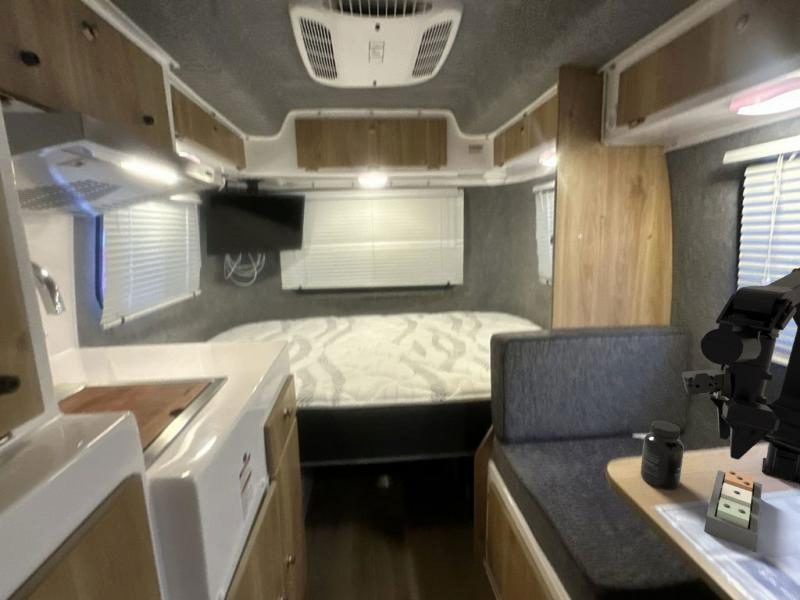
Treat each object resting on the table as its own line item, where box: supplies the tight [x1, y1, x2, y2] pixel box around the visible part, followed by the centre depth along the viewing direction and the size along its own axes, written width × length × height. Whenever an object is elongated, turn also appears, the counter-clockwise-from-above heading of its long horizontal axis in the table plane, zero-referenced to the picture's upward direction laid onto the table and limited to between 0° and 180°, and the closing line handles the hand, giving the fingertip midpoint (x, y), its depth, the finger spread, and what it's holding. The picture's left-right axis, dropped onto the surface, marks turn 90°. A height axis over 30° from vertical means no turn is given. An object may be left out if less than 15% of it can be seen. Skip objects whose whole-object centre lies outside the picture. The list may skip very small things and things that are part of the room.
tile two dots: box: [717, 498, 750, 529], centre depth 68 cm, size 4×4×3 cm
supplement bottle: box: [640, 420, 685, 490], centre depth 82 cm, size 7×7×12 cm
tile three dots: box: [724, 468, 755, 492], centre depth 76 cm, size 4×4×3 cm
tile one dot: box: [721, 483, 752, 508], centre depth 72 cm, size 4×4×3 cm
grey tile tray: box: [704, 470, 763, 552], centre depth 73 cm, size 17×7×3 cm, turn 137°
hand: (728, 448), depth 71 cm, fingers open, 9 cm apart
